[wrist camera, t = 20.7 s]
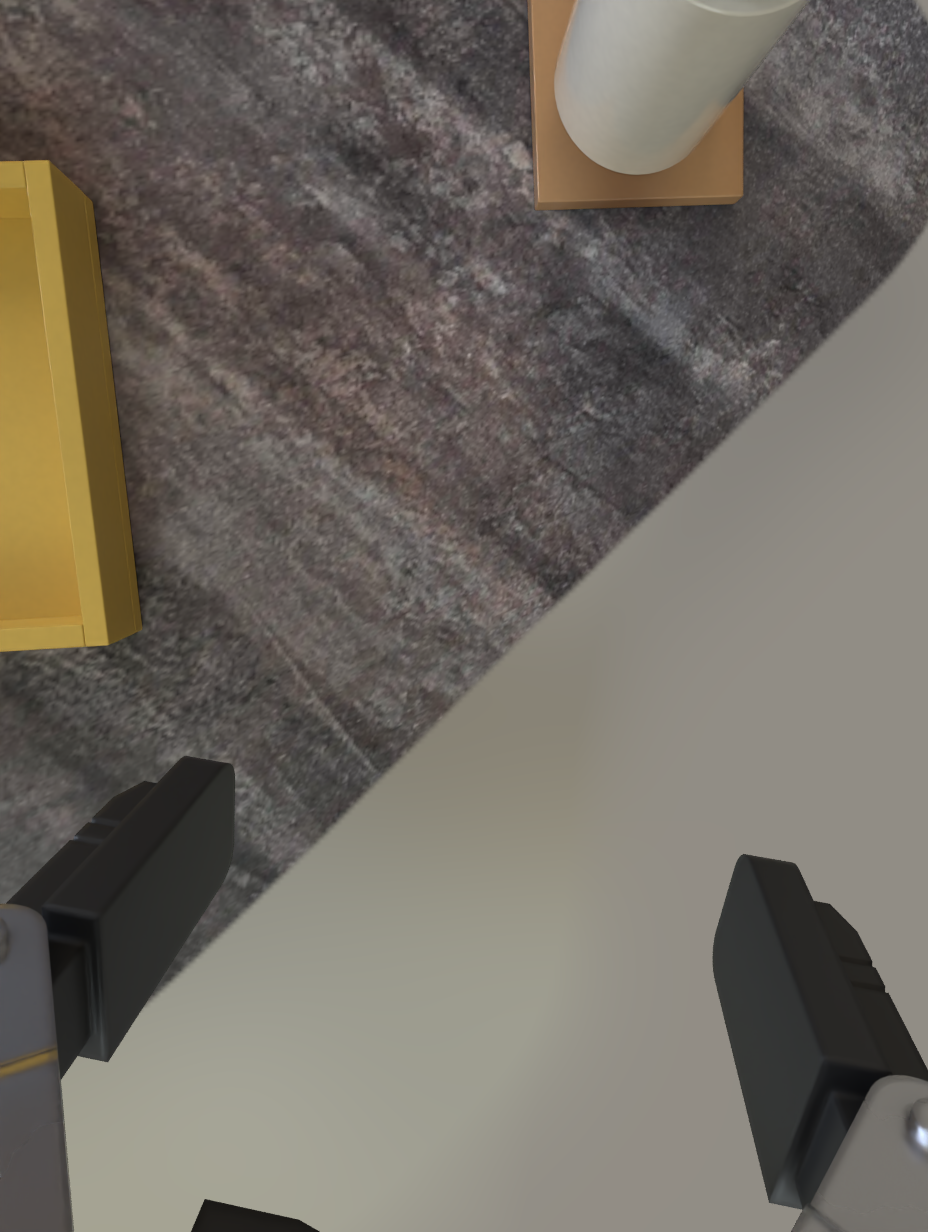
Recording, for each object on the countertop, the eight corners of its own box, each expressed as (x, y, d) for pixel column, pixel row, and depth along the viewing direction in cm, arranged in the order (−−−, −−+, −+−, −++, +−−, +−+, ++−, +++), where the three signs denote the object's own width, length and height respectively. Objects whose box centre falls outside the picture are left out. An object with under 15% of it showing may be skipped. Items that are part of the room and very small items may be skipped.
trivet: (735, -21, 27) (744, -36, 26) (734, 204, 28) (743, 196, 27) (526, -17, 27) (529, -33, 26) (534, 210, 28) (537, 202, 27)
